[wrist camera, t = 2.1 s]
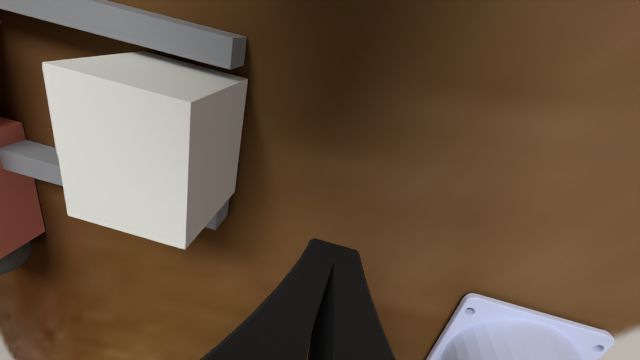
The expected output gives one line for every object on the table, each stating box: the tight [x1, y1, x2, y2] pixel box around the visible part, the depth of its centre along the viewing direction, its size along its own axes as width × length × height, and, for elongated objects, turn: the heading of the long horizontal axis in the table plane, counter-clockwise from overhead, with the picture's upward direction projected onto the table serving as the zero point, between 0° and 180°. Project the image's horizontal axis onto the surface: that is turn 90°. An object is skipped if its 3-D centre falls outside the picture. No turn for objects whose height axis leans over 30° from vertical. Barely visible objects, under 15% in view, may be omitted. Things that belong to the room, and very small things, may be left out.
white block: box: [42, 51, 248, 250], centre depth 14 cm, size 6×8×5 cm
